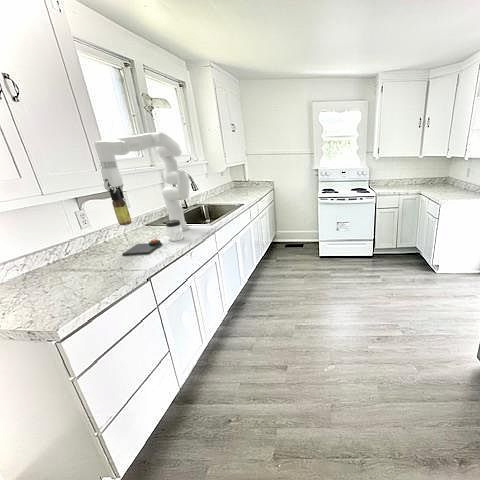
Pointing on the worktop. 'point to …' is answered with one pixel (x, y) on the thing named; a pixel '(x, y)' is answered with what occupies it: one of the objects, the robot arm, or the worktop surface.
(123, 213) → the sauce bottle
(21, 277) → the worktop surface
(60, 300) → the worktop surface
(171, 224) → the jar
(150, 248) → the scale
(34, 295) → the worktop surface
